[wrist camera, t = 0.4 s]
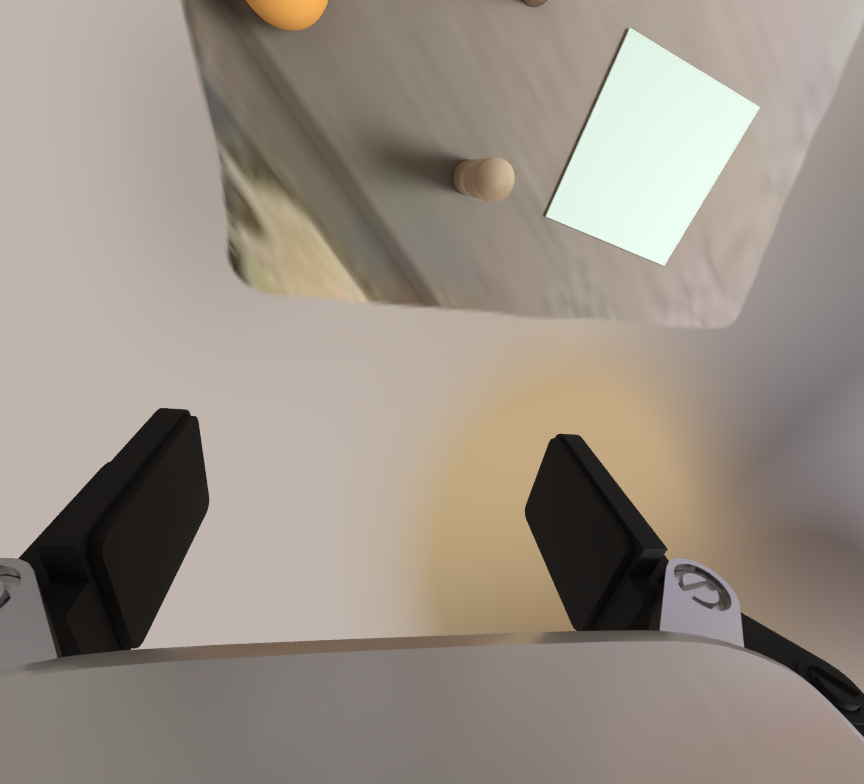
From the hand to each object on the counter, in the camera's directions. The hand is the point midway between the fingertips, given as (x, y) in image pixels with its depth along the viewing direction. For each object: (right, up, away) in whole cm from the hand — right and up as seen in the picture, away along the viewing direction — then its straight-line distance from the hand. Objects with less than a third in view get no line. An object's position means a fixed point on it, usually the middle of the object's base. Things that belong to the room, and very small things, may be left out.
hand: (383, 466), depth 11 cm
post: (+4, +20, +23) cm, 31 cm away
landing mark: (+21, +22, +24) cm, 39 cm away
